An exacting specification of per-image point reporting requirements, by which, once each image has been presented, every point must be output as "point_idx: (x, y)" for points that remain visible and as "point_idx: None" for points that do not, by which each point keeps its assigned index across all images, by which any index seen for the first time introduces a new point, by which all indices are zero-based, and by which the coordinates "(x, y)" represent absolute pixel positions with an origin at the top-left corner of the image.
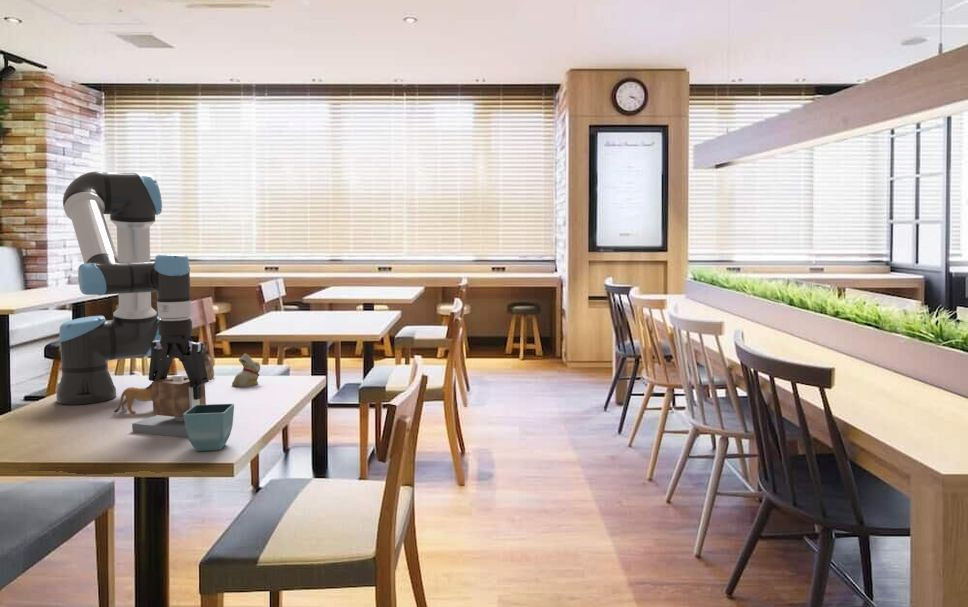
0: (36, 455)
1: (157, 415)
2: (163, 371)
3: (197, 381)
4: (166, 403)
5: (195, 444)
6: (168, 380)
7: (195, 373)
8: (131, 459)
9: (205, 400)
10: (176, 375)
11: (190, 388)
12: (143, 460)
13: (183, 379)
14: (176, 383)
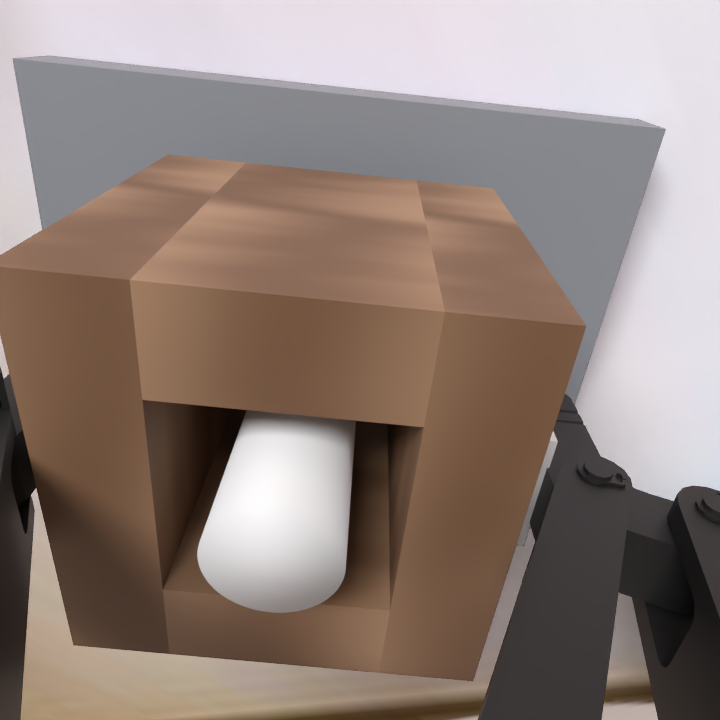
0: (45, 688)
1: (47, 207)
2: (19, 623)
3: (640, 608)
4: None
5: None
6: (159, 531)
7: (658, 713)
8: (434, 679)
9: (506, 211)
10: (235, 553)
11: None
12: (489, 681)
13: (339, 494)
14: (408, 663)
